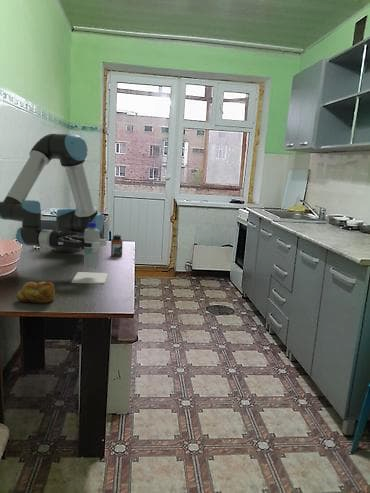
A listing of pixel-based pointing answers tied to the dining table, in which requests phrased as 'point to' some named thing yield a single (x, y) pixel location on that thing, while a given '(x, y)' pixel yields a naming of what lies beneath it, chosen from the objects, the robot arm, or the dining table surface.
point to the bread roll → (37, 292)
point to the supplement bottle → (116, 246)
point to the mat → (88, 278)
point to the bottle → (89, 253)
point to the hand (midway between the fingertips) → (102, 244)
